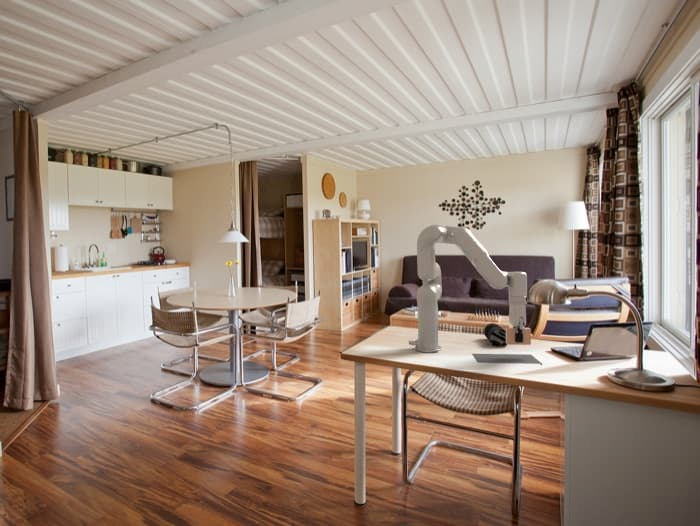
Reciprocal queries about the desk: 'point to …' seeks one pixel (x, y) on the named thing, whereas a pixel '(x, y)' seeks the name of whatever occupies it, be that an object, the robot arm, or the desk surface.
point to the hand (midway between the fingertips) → (518, 341)
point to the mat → (506, 358)
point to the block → (511, 336)
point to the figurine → (495, 334)
